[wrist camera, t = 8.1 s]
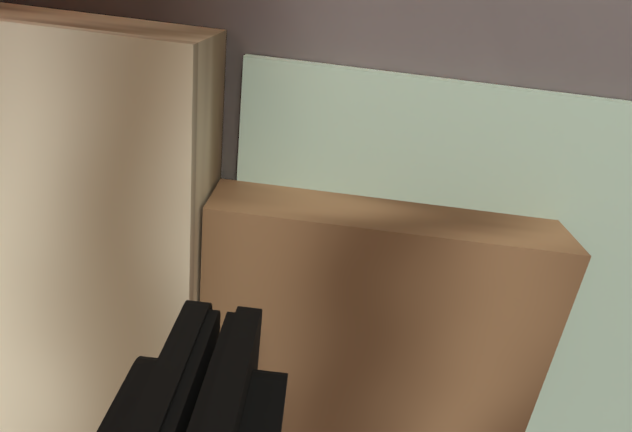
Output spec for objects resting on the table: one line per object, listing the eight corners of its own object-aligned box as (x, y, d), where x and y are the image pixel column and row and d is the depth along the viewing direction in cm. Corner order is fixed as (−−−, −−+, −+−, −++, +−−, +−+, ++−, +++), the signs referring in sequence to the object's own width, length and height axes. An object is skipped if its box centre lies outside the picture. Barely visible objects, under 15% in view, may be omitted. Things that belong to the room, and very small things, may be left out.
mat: (787, 120, 13) (800, 123, 13) (619, 464, 18) (625, 474, 18) (246, 53, 13) (243, 55, 13) (225, 419, 18) (223, 428, 17)
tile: (558, 220, 14) (591, 256, 12) (491, 417, 17) (510, 471, 15) (220, 178, 14) (203, 208, 12) (211, 384, 17) (195, 433, 15)
